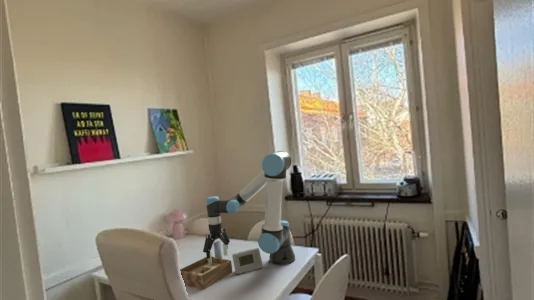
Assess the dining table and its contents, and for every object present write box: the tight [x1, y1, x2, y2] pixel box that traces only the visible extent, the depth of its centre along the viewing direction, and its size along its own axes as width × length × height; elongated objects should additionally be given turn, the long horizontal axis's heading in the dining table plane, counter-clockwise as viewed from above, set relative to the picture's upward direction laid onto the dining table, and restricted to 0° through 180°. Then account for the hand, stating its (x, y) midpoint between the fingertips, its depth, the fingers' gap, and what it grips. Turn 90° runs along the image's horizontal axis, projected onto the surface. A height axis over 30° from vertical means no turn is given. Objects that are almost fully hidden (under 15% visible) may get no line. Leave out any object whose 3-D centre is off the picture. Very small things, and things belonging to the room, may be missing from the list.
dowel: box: [213, 240, 223, 259], centre depth 189 cm, size 4×4×14 cm
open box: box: [179, 256, 233, 291], centre depth 174 cm, size 18×22×7 cm
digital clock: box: [231, 247, 264, 275], centre depth 180 cm, size 16×9×11 cm, turn 102°
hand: (218, 259), depth 189 cm, fingers open, 12 cm apart
